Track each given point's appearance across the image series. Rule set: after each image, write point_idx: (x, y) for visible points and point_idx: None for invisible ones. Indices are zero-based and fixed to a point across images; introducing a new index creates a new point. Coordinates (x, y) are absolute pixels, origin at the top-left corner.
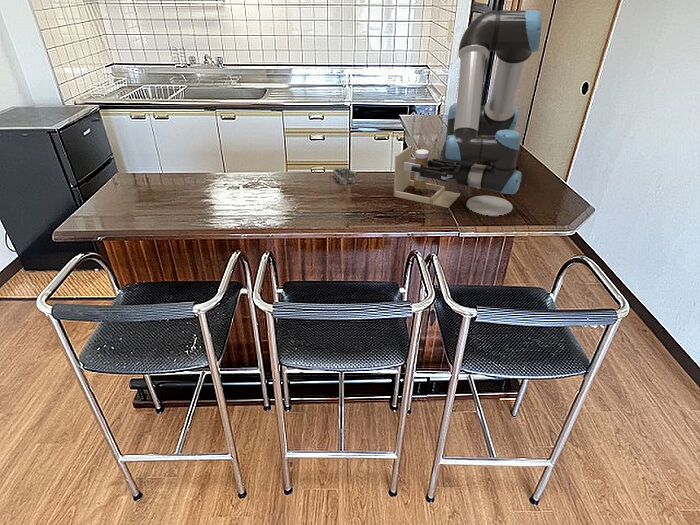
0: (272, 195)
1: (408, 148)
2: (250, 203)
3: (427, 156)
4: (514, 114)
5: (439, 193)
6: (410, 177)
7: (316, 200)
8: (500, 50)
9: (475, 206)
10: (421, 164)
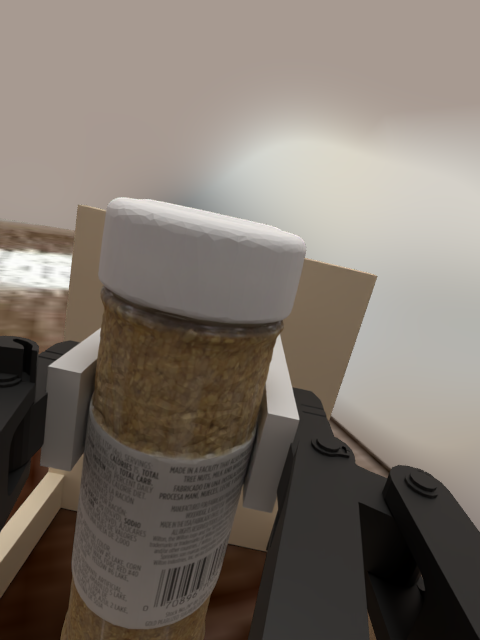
0: (58, 282)
1: (304, 259)
2: (9, 266)
3: (159, 283)
4: None
5: None
6: None
7: (17, 316)
8: None
9: None
10: (29, 342)
